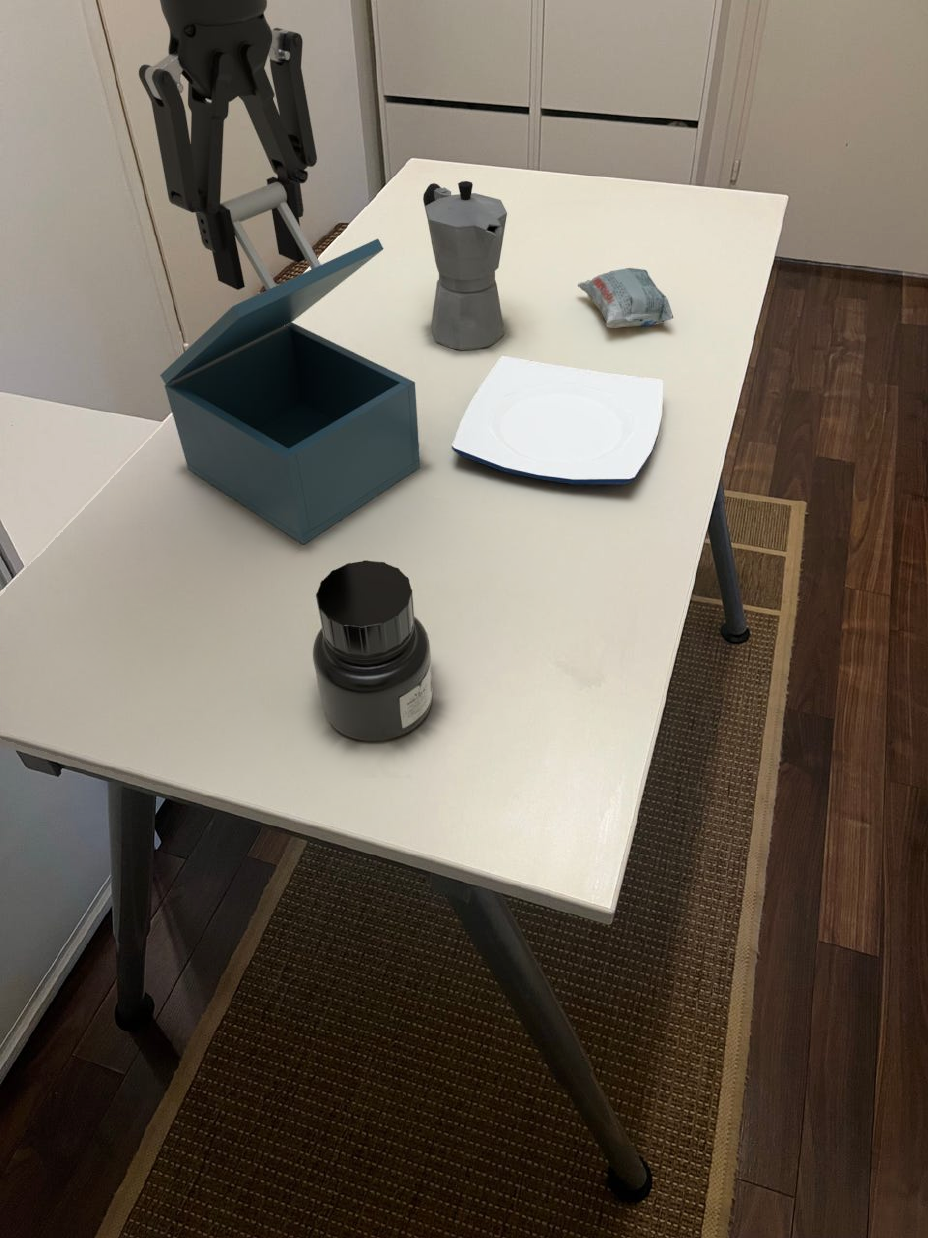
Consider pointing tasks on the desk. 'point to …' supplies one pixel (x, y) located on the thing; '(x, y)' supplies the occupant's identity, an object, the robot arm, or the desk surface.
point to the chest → (297, 428)
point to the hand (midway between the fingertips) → (262, 269)
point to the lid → (268, 285)
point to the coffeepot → (465, 265)
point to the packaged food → (628, 298)
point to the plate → (562, 423)
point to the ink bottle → (371, 652)
